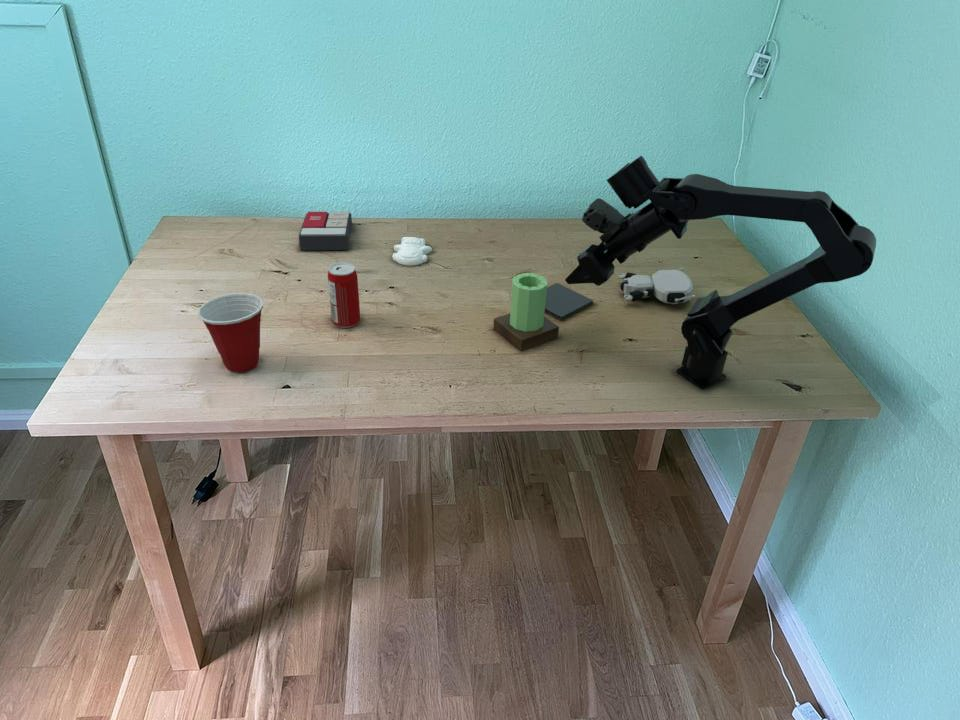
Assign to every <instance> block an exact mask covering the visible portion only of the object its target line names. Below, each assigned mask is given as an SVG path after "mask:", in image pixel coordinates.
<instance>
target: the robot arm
mask: <svg viewBox="0 0 960 720" xmlns="http://www.w3.org/2000/svg"><path fill="white" fill-rule="evenodd" d="M606 182H607V183H608V185H609V186H610V187H611V189H612V190H613V192H614V193H615V194H616V196H617V197H618V198H619V200H620V201H621V202H622V205H623V206H624V207H625V208H628V210H630V209H632V208H634V209H637V208H639V207H641V206H642V205H643V204H645V203H646V202H647V201H650V202H649V203H647V204H646V205H644V206H643V207H642V208H640V209H638V210H637V211H636V212H632V213H631V212H629V213H627V214H626V215H625V216H624V215H623V214H622V213H620V211H619V210H618V209H616V208H615V207H614V206H613V205H611V204H610V203H608V202H607V201H605V200H604V199H602V198H599V197H598V198H596V199H595V200H593V202H591V203H590V204H589V206H588V208H587V209H586V211H585V212H583V214H582V215H583V216H582V217H581V221H582V222H583V223H584V225H586V226H587V227H589V228H590V229H591V230H593V231H594V232H598V233H600V234H601V235H600V236H598V238H599V239H600V241H601V242H600V243H599V244H594V243H593V244H590V245H589V246H587V247H586V248H585V249H583V250H582V251H581V252H580V253H579V254H578V255H577V257H576V258H577V263H578V265H577V266H576V267H575V268H574V269H573V270H572V271H571V272H570V273H569V275H567V277H566V278H565V279H564V281H565V283H566V284H567V285H579V284H581V285H582V284H594V285H595V286H598V287H600V286H601V285H603V284H605V283H606V282H608V281H609V279H610V278H611V277H612V276H613V275H614V273H615V265H614V261H616V260H617V261H618V263H619V264H620V265H622V264H623V263H625V262H627V260H628V259H629V257H631V256H633V255H635V254H636V253H637V252H638V253H641V252H642V251H644V250H645V249H646V248H647V247H648V245H650V244H651V243H653V242H655V241H656V240H658V239H660V238H661V237H662V236H664V235H666V234H667V233H669V232H670V231H671V232H672V233H673V235H674V236H675V238H676V239H678V240H681V239H682V238H683V236H684V235H685V234H686V232H687V231H688V223H689V222H690V221H693V220H696V221H697V220H706V219H711V218H715V217H721V216H735V217H736V216H737V217H744V218H757V219H766V220H775V221H786V222H796V223H797V222H798V223H804V224H805V225H806V226H807V227H808V228H809V230H810V231H811V232H812V234H813V236H814V238H815V239H816V241H817V242H818V244H819V246H818V247H817V248H816V249H815V250H814V251H813V252H812V253H811V254H809V255H808V256H807V257H804V258H802V259H800V260H797V261H796V262H794V263H791V264H790V265H788V266H786V267H784V268H782V269H780V270H778V271H776V272H774V273H772V274H770V275H768V276H766V277H764V278H762V279H760V280H758V281H755V282H754V283H752V284H750V285H748V286H746V287H744V288H741V289H740V290H737V291H736V292H734V293H731V294H729V295H720V294H719V292H718V289H714V290H713V291H712V292H710V293H709V294H707V295H705V296H703V297H697V298H696V300H695V301H694V303H693V305H692V306H691V308H690V310H689V311H688V312H687V315H686V317H685V318H684V319H683V322H682V323H681V327H680V330H681V335H682V336H683V338H684V339H685V340H686V344H687V346H685V349H684V352H683V356H682V360H681V366H679V367H678V368H676V370H675V372H676V373H677V374H678V375H679V376H681V377H683V378H684V379H685V380H686V381H689V382H690V383H692V384H693V385H694V386H696V387H697V388H699V389H701V390H706V389H708V388H710V387H712V386H714V385H716V384H718V383H721V382H722V381H724V380H726V379H727V375H726V374H724V373H723V372H724V368H725V365H726V362H727V359H728V355H729V352H728V351H727V350H726V347H727V346H728V344H729V342H730V339H731V337H732V335H733V329H732V328H731V327H732V326H734V325H735V324H736V323H737V322H738V321H740V320H743V319H745V318H746V317H748V316H749V317H750V316H751V315H753V314H755V313H758V312H760V311H761V310H763V309H767V308H768V307H771V306H772V305H774V304H777V303H779V302H781V301H784V300H785V299H787V298H790V297H793V296H795V295H796V294H799V293H801V292H802V291H804V290H807V289H809V288H811V287H813V286H815V285H818V284H825V283H826V284H827V283H837V282H841V281H845V280H849V279H851V278H856V277H859V276H861V275H863V274H864V273H866V272H867V271H869V270H870V268H871V266H872V264H873V261H874V257H875V253H876V248H877V238H876V235H875V233H874V232H873V231H872V230H871V229H870V228H868V227H866V226H863V225H859V223H858V222H857V221H856V220H855V219H854V217H852V215H851V214H850V213H849V212H847V211H846V210H845V209H843V208H842V207H841V206H840V205H838V203H836V202H835V200H833V198H832V197H831V196H830V194H828V193H827V192H825V191H822V190H815V191H805V190H791V189H779V188H768V187H767V188H766V187H753V186H740V185H733V184H730V183H727V182H724V181H723V180H720V179H718V178H717V177H716V178H715V177H711V176H708V175H705V174H699V173H691V174H688V175H686V176H684V177H681V178H680V177H663V178H661V180H659V179H658V178H657V177H656V175H655V174H654V172H653V171H652V170H651V168H650V167H649V165H648V163H647V160H646V159H645V158H644V156H643V155H640V156H638V157H637V158H636V159H633V160H632V161H631V162H627V163H626V164H625V165H624V166H622V167H621V168H619V169H618V170H616V171H615V172H614V173H613V174H612V175H611V176H609V177H608V178H607V179H606Z"/></svg>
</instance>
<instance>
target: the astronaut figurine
mask: <svg viewBox="0 0 960 720" xmlns="http://www.w3.org/2000/svg"><path fill="white" fill-rule="evenodd" d="M400 239H401V241H400V243H399V244H395V245H393V249H394V253H393V254H392V257H391V258H392V260H393V261H395V262H396V263H398V264H399V265H402V266H407V267H413V266H414V267H415V266H419V265H421V264H424V263H427V261H428V256H427V255H428V254H430V253H431V252H432V251H433V248H432V247H431V246H430V245H426V239H424V238H423V237H420V238H419V237H415V236H404V237H402V238H400Z"/></svg>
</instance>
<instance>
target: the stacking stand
mask: <svg viewBox="0 0 960 720" xmlns="http://www.w3.org/2000/svg"><path fill="white" fill-rule="evenodd" d="M492 328H493V330H494V332H496V333H497V334H499V335H500V336H501V337H503V338H504V339H505V340H506V341H508V342H509V343H510V344H511V345H512V346H514V347H516V348H517V349H518V350H519V351H521V352H523V351H526V350H528V349H531V348H533V347H536V346H540V345H542V344H544V343H547V342H549V341H553V340H554V339H558V338H559V331H560V326H559V325H558V324H556V323H555V322H553V321H552V320H551V319H549V318H548V317H546V316H545V315H544V322H543V327H541V328H540V329H538V330H537V331H528V332H525V331H521V330H517V329H515V328H514V327H512V326H511V325H510V312H509V313H506V314H504V315H501V316H497V317H495V318H493V327H492Z"/></svg>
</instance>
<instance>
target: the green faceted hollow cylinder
mask: <svg viewBox="0 0 960 720" xmlns="http://www.w3.org/2000/svg"><path fill="white" fill-rule="evenodd" d="M547 287H548V279H546V278H545V277H544V276H543V275H541V274H537V273H532V272H526V273H518V274H517V275H515V276H514V277H512V283H511V297H510V298H511V299H510V312H509V313H510V325H511V326H512V327H514V328H515V329H517V330H521V331H525V332H528V331H537V330H538V329H540V328H541V327H543V322H544V316H545V313H546V312H545V302H546V292H547Z"/></svg>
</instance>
